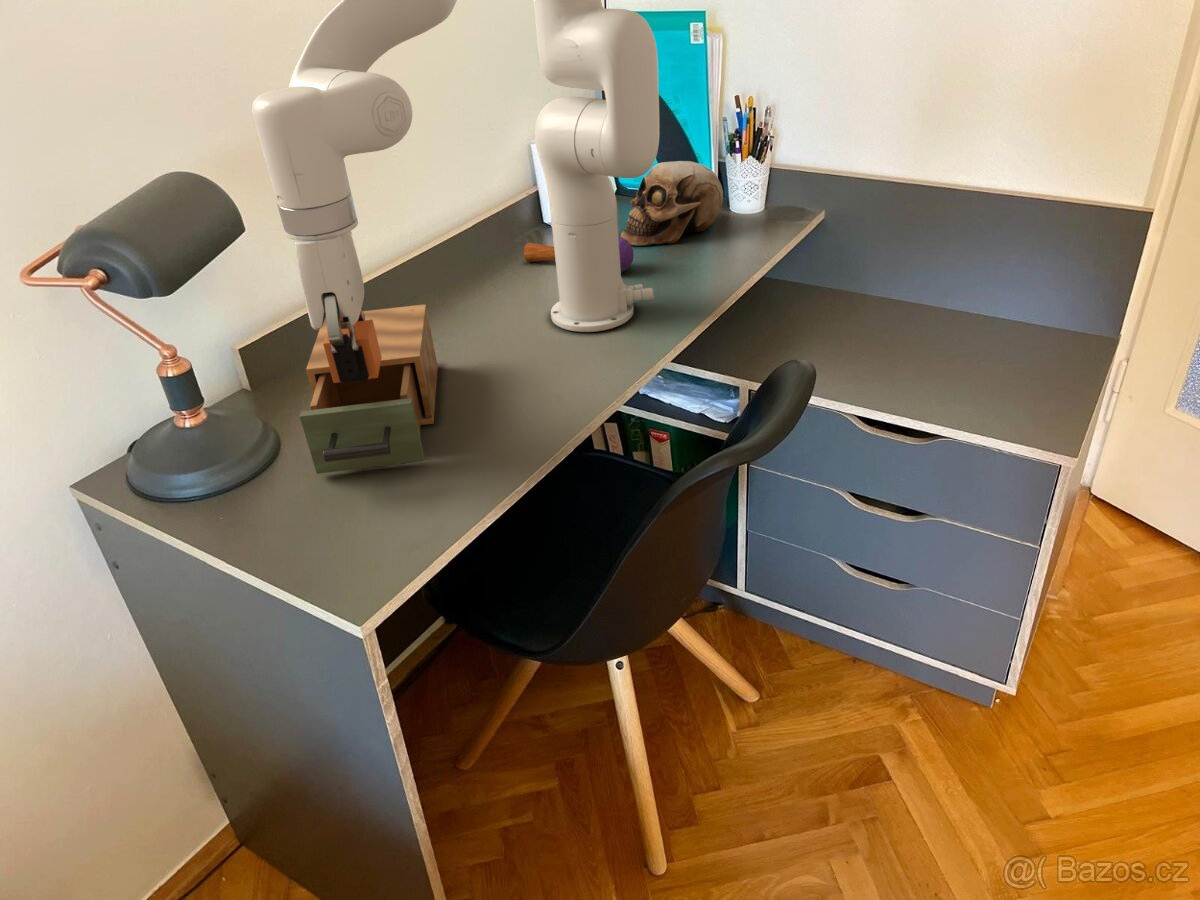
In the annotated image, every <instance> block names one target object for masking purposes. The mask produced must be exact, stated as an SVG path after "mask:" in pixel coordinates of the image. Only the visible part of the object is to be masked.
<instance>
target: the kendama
mask: <svg viewBox="0 0 1200 900" xmlns="http://www.w3.org/2000/svg"><path fill="white" fill-rule="evenodd" d="M618 237H619V253H620V269H621V273H623V272H625V271H627V270H628V269H629V268H630V266H631V265H632V264H633V261H634V254H635V253H634V249H633V245H630V244H629V242H628V241H627V240H625V239H623V238H621V237H620V236H618ZM523 257H524V260H525V261H526V263H534V262H544V261H554V260H555V251H554V245H553V246H552V245H546V244H541V243H540V244H539V243H534V242H527V243H525V245H524V248H523ZM555 261H556V260H555Z"/></svg>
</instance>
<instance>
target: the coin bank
mask: <svg viewBox="0 0 1200 900" xmlns="http://www.w3.org/2000/svg"><path fill="white" fill-rule="evenodd" d="M723 200H724V190H723V187H722V183H721V181H720V180H719V177H718V175H717V174H716V173H715V172H714V171H713V170H712V169H711V168H709V167H708V166H706V165H705V164H701V163H698V162H695V161H690V160H677V161H664V162H662V161H661V162H659V163H657V164H655V165H654V166H652V167H651V168H650V170H649V171H648V174H647V175H643V176H642V178H641V181H640V183H639V186H638V189H637V192H636V193H635V198H632V199H631V200H630V206H631V207H632V209H631V210H630V211H629V213H628V218H627V221H626V226H625V229H623V231H622V232H621V233H620V234H619V237H621V238H623V239H625V240H627V241H628V242H629V244H630V245H631V246H632V247H634V246H635V247H637V246H638V247H640V246H643V247H644V246H650V245H662V244H675V243H677V242H678V241H679V240H680V239H681V237H682V235H683V234H685V233H695V232H696V233H698V232H703V231H705V230H707V229H708V228H709V226H711V225H712V224H713V223H714V222H715V221H716V219H717V217H718V216H719V214H720V212H721V211H722V207H723Z"/></svg>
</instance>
